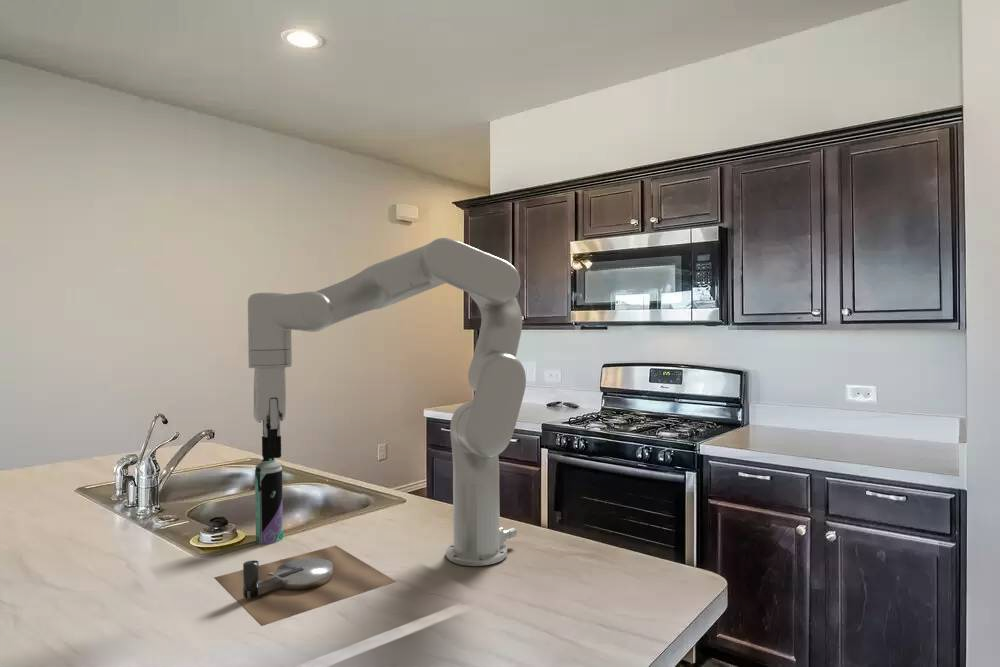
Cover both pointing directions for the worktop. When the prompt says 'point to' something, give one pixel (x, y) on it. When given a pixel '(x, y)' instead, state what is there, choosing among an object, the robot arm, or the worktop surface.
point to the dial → (287, 576)
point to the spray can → (268, 502)
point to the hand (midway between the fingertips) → (271, 457)
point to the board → (284, 603)
